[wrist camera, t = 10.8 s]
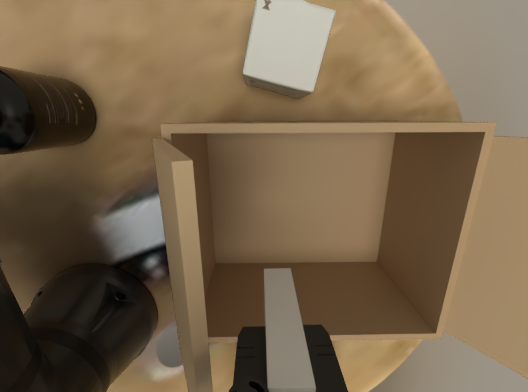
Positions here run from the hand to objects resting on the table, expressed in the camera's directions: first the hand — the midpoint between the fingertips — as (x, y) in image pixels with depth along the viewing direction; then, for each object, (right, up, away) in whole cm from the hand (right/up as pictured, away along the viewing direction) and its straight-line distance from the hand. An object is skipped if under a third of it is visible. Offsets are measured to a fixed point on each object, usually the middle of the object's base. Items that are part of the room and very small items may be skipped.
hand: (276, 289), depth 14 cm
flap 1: (-5, 0, 0) cm, 5 cm away
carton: (+3, +5, +16) cm, 17 cm away
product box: (+1, +19, +12) cm, 23 cm away
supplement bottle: (-22, +14, +13) cm, 29 cm away
